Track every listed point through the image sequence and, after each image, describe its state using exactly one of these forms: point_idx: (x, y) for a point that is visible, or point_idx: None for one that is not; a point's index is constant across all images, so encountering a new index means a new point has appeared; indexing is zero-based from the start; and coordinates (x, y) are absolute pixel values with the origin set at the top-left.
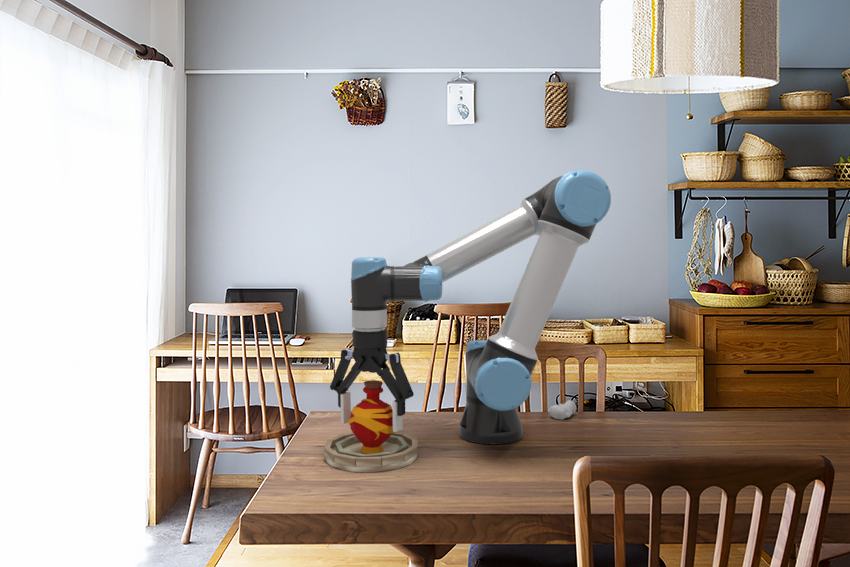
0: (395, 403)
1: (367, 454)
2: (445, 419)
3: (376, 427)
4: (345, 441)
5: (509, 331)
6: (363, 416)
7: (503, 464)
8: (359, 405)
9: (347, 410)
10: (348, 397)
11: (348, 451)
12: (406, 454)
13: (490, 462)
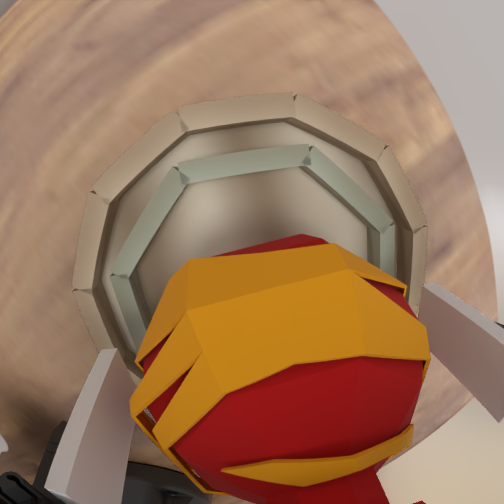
0: (49, 477)
1: (179, 191)
2: None
3: (164, 305)
4: (378, 267)
5: None
6: (260, 298)
7: (6, 392)
8: (390, 386)
9: (453, 344)
10: (492, 394)
11: (331, 232)
12: (78, 298)
13: (22, 394)
